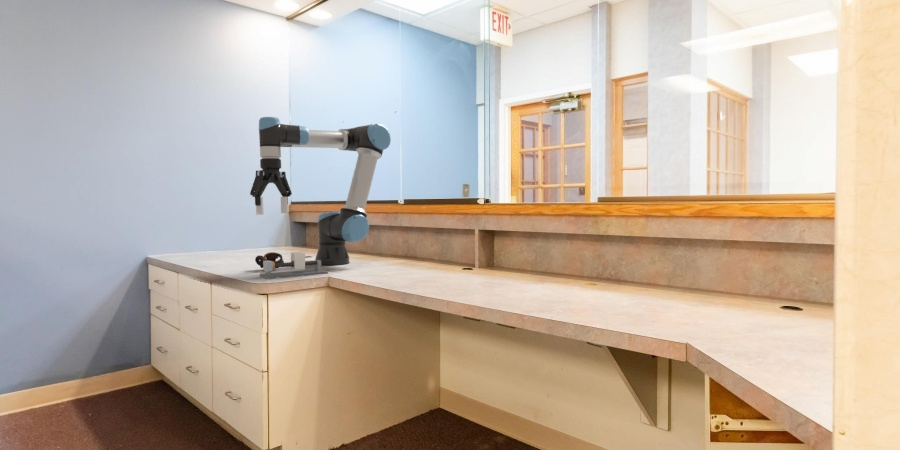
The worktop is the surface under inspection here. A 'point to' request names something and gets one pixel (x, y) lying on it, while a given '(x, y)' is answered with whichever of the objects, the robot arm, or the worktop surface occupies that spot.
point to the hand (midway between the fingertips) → (272, 214)
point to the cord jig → (270, 266)
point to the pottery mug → (269, 258)
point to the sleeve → (298, 260)
